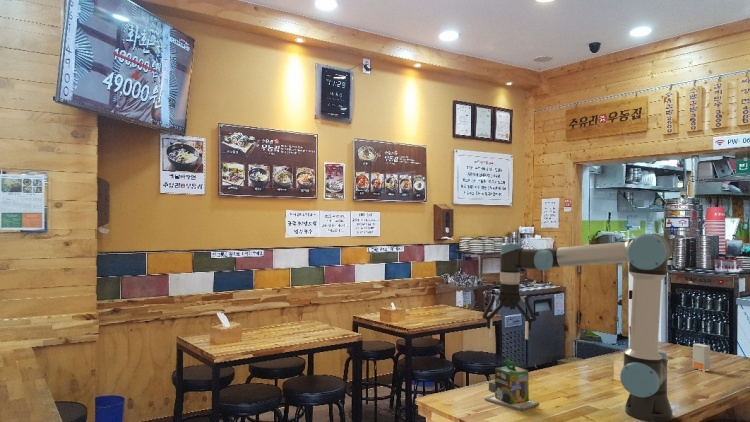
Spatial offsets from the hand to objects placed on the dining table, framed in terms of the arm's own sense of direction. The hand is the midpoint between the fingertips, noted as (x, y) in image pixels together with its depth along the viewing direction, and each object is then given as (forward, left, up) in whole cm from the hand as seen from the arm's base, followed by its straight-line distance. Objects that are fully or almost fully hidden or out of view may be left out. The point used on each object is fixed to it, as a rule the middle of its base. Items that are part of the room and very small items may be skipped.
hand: (508, 338), depth 214 cm
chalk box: (-4, +3, -22) cm, 23 cm away
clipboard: (-4, +3, -23) cm, 24 cm away
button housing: (+7, -7, -23) cm, 25 cm away
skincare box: (-33, -109, -23) cm, 116 cm away
